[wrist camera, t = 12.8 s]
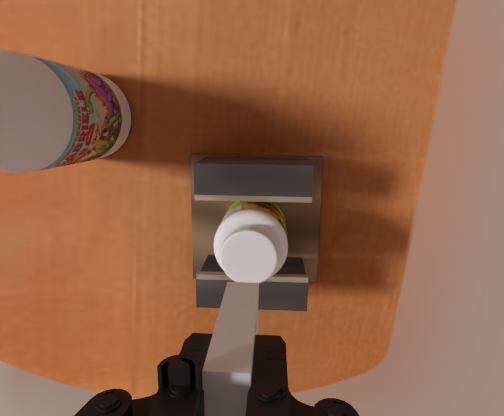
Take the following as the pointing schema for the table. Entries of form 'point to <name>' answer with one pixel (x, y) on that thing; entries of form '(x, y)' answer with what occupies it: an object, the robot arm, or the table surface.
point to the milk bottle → (56, 114)
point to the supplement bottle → (251, 241)
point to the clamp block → (257, 190)
